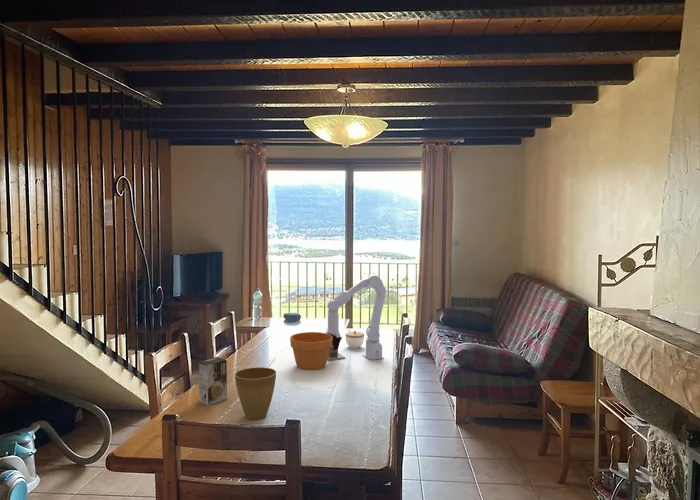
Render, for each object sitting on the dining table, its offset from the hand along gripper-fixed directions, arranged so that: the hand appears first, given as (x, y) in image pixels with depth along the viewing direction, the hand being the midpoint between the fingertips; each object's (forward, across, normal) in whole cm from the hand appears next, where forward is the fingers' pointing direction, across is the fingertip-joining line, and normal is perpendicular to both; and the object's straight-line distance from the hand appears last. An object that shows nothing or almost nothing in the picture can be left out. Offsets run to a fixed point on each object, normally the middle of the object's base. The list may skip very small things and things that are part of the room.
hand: (333, 348), depth 259 cm
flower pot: (+5, +11, -16) cm, 20 cm away
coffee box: (+5, +42, -68) cm, 80 cm away
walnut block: (+4, 0, 0) cm, 4 cm away
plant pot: (+5, +64, -56) cm, 85 cm away
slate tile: (+5, 0, 0) cm, 5 cm away
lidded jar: (+5, -16, +20) cm, 26 cm away
